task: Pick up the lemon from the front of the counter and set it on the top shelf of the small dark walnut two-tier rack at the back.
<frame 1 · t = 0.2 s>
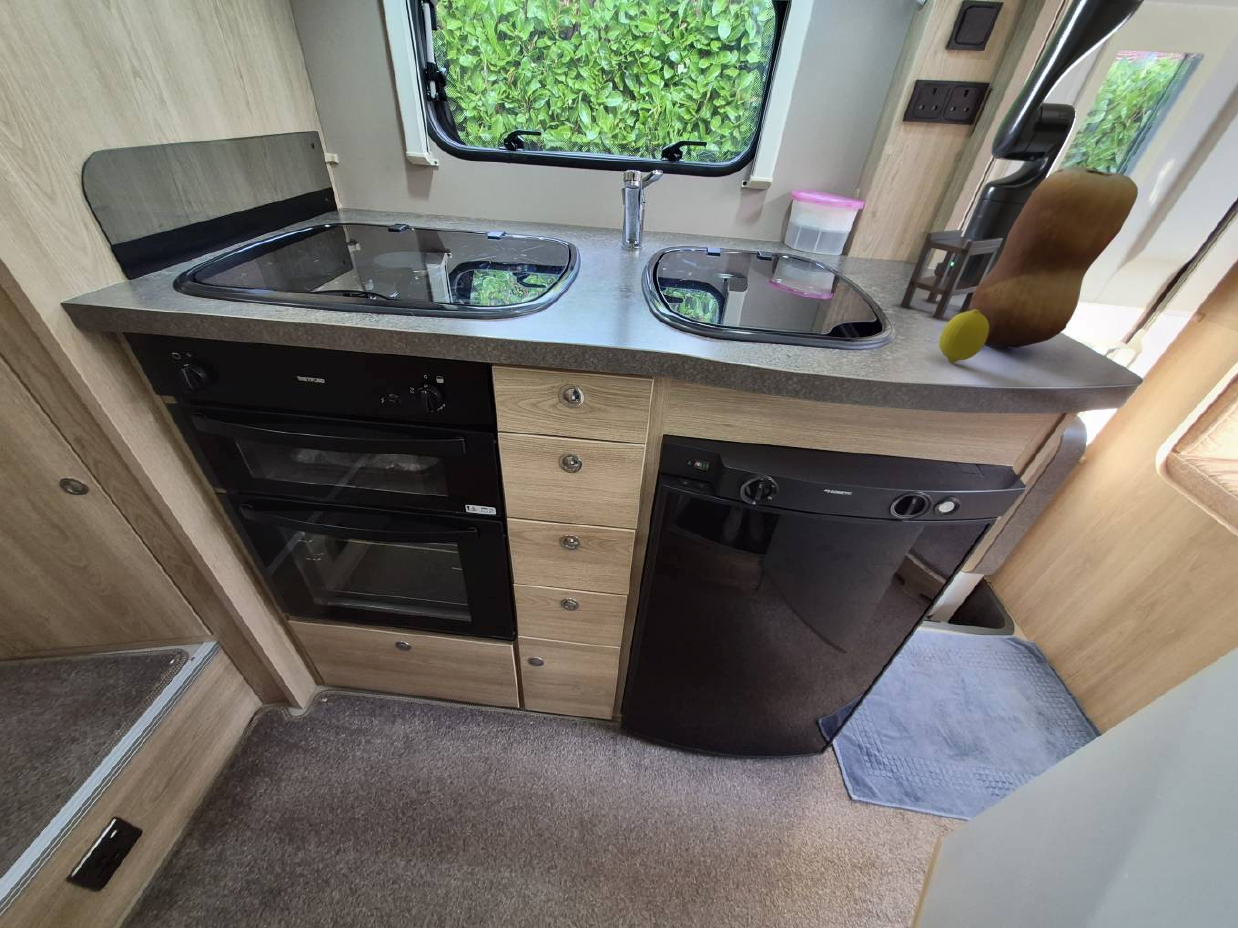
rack: (934, 309, 95), on the worktop
butternut squash: (998, 345, 81), on the worktop
lemon: (950, 364, 73), on the worktop
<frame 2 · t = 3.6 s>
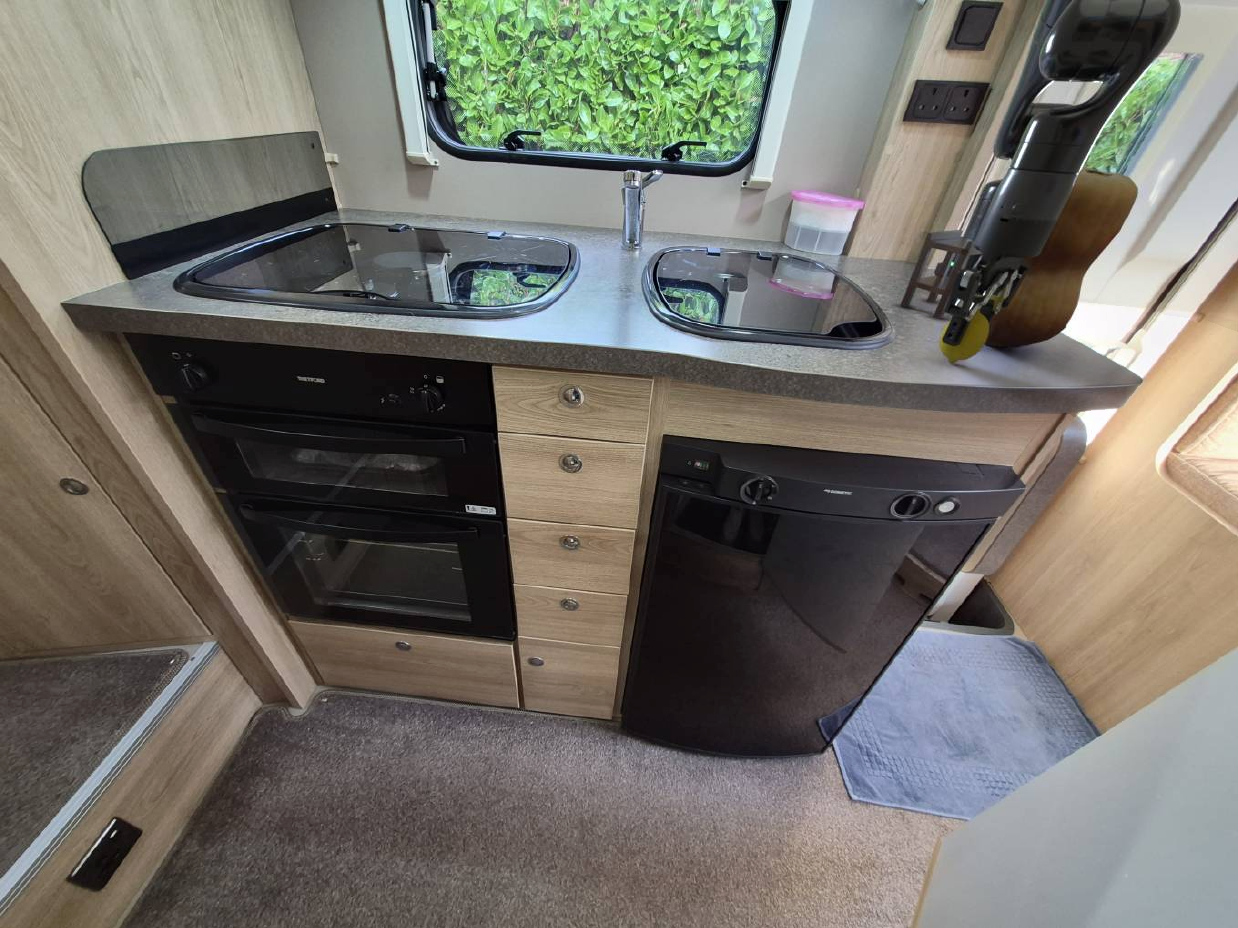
hand: (961, 340, 71), 4 cm above the worktop, tool pointing down, fingers closed on lemon, 5 cm apart
lemon: (950, 364, 73), on the worktop, touching gripper
everything else where it was.
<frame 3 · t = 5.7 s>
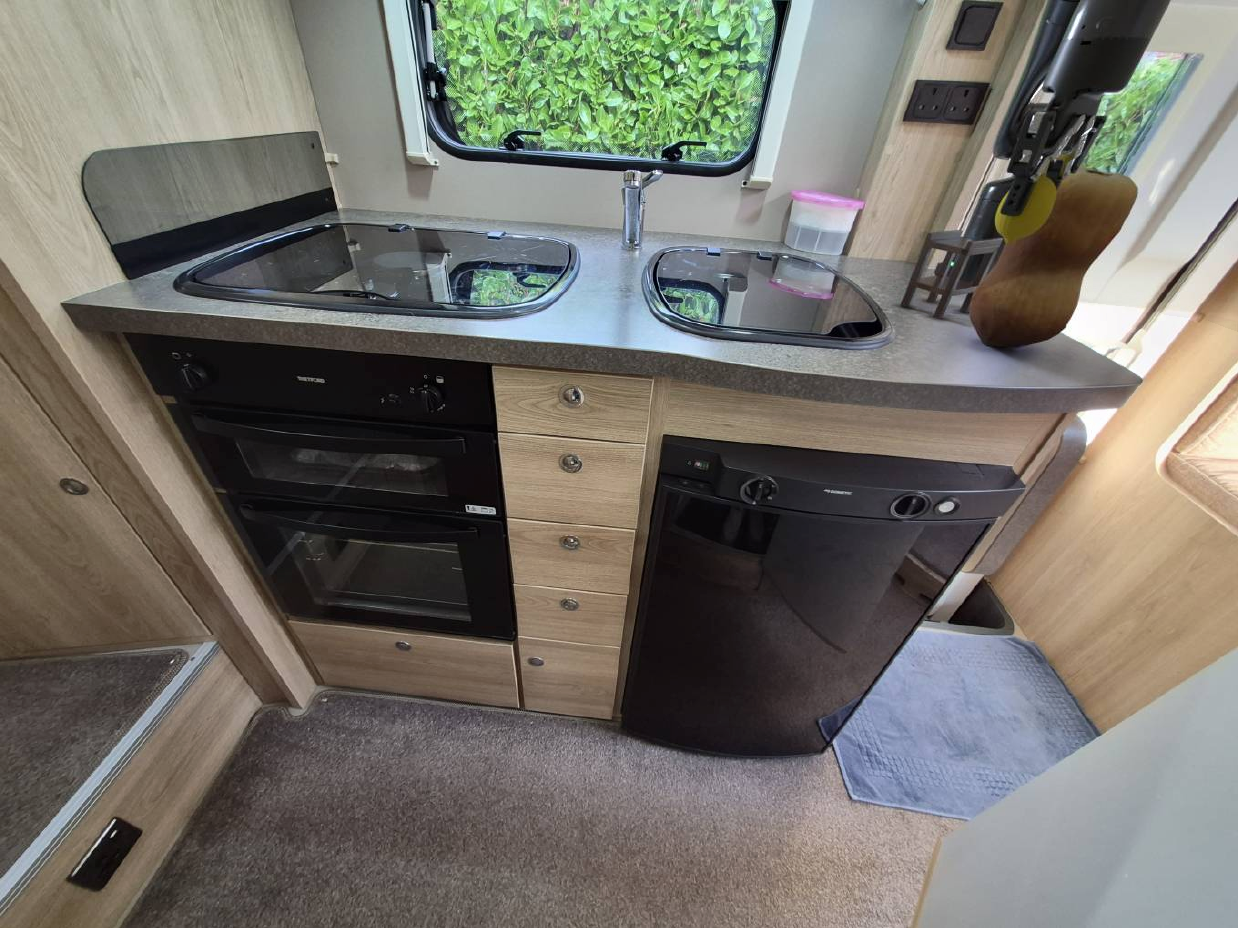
hand: (1022, 213, 62), 20 cm above the worktop, tool pointing down, fingers closed on lemon, 5 cm apart
lemon: (1007, 245, 64), point 16 cm above the worktop, touching gripper
everything else where it was.
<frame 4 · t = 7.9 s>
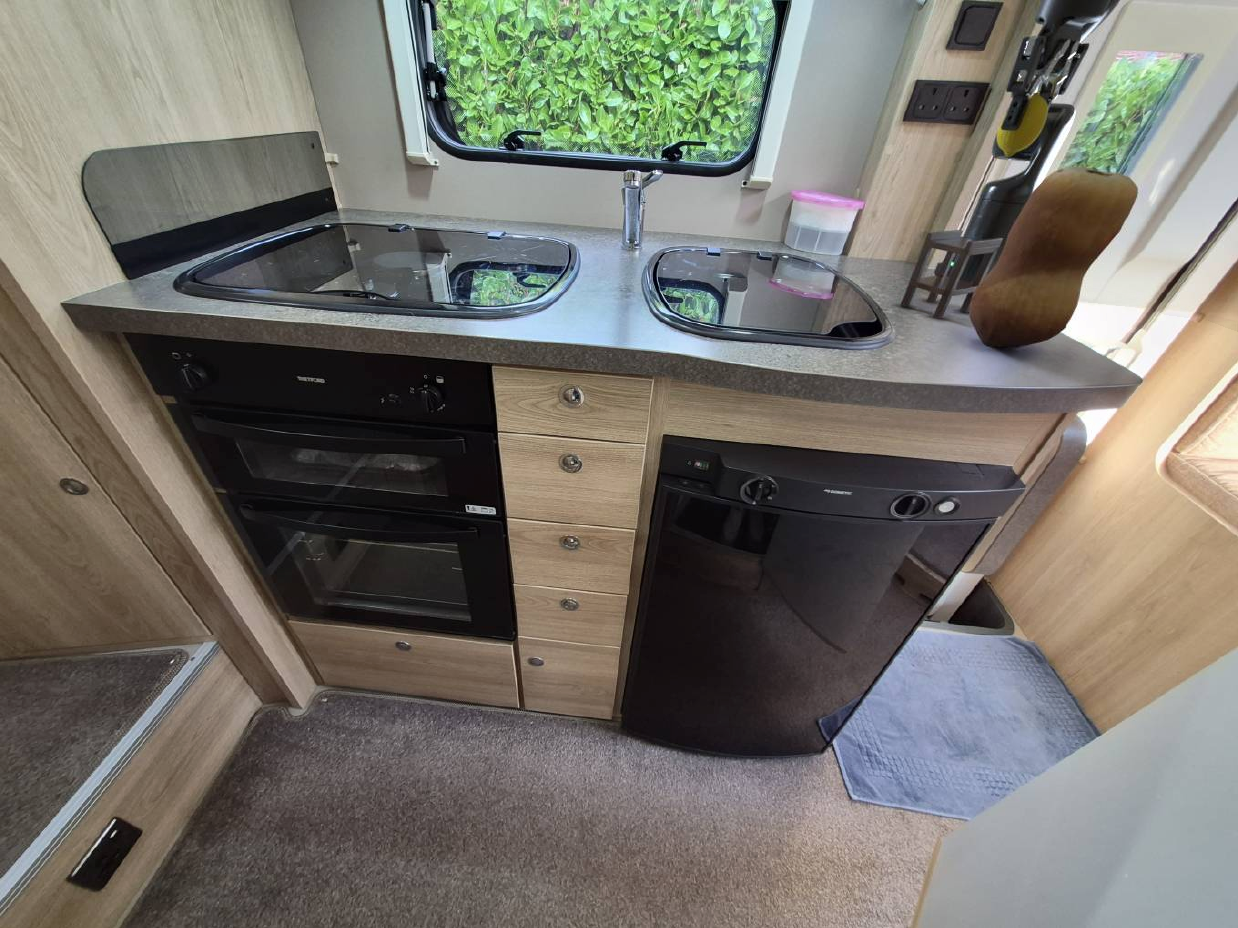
hand: (1019, 129, 74), 29 cm above the worktop, tool pointing down, fingers closed on lemon, 5 cm apart
lemon: (1007, 158, 76), point 25 cm above the worktop, touching gripper
everything else where it was.
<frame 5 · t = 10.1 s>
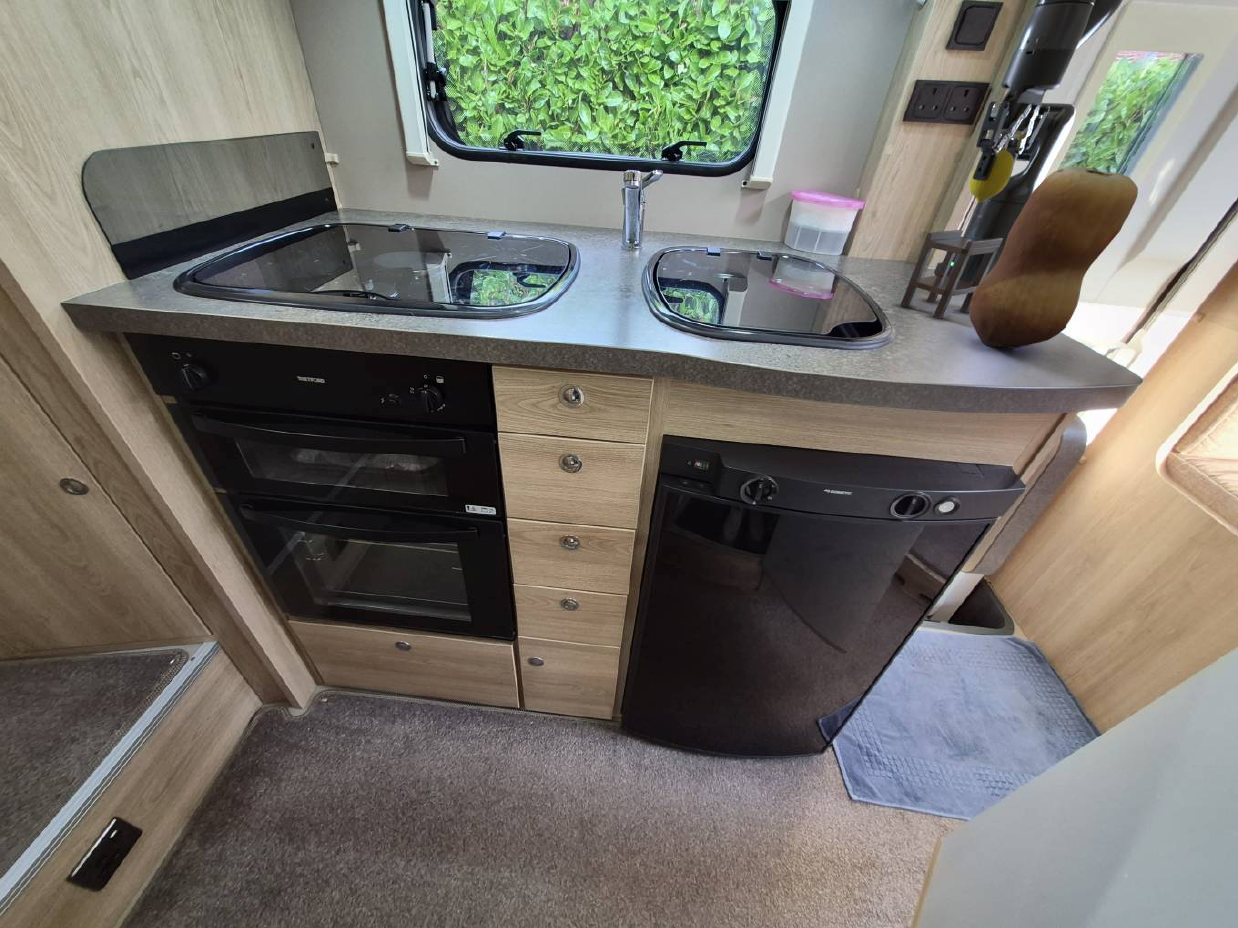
hand: (989, 179, 82), 22 cm above the worktop, tool pointing down, fingers closed on lemon, 5 cm apart
lemon: (979, 203, 84), point 18 cm above the worktop, touching gripper
everything else where it was.
when the fingers open (15 cm above the worktop, at t = 12.2 s): lemon stays where it is, resting on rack.
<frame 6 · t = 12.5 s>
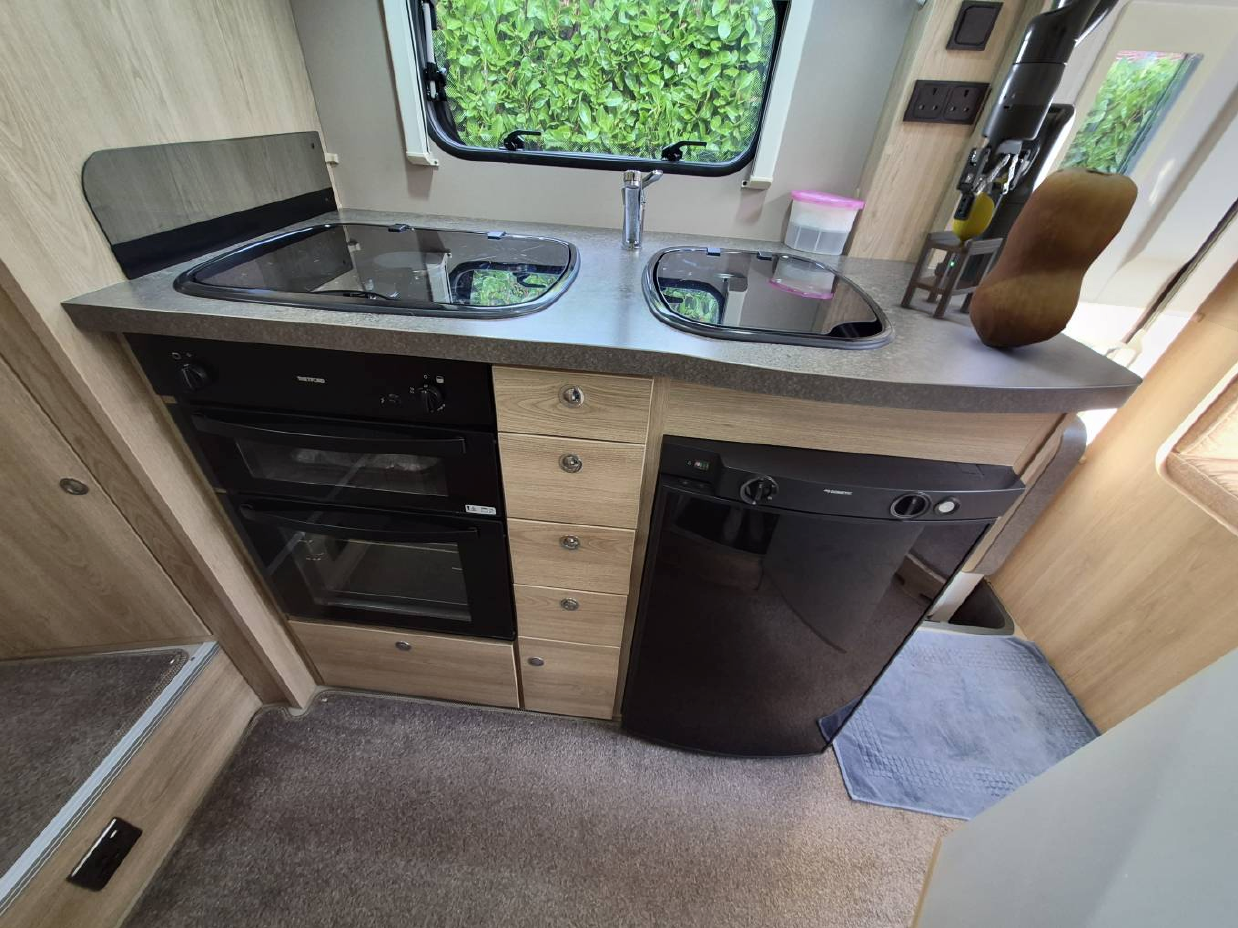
hand: (972, 218, 86), 16 cm above the worktop, tool pointing down, fingers open, 7 cm apart
lemon: (961, 244, 88), point 12 cm above the worktop, touching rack
everything else where it was.
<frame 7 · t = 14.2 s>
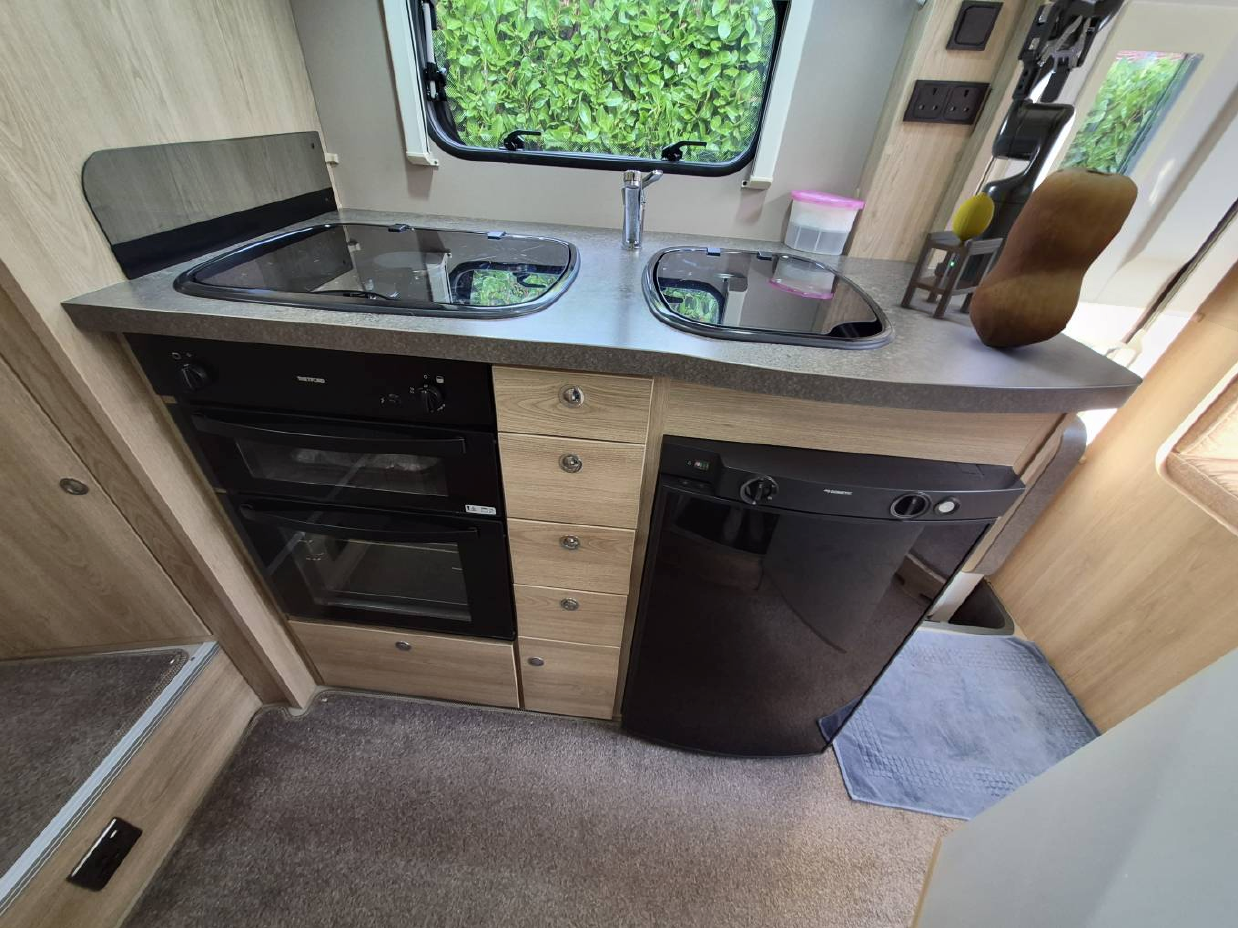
hand: (1033, 101, 75), 33 cm above the worktop, tool pointing down, fingers open, 8 cm apart
nothing on the worktop moved.
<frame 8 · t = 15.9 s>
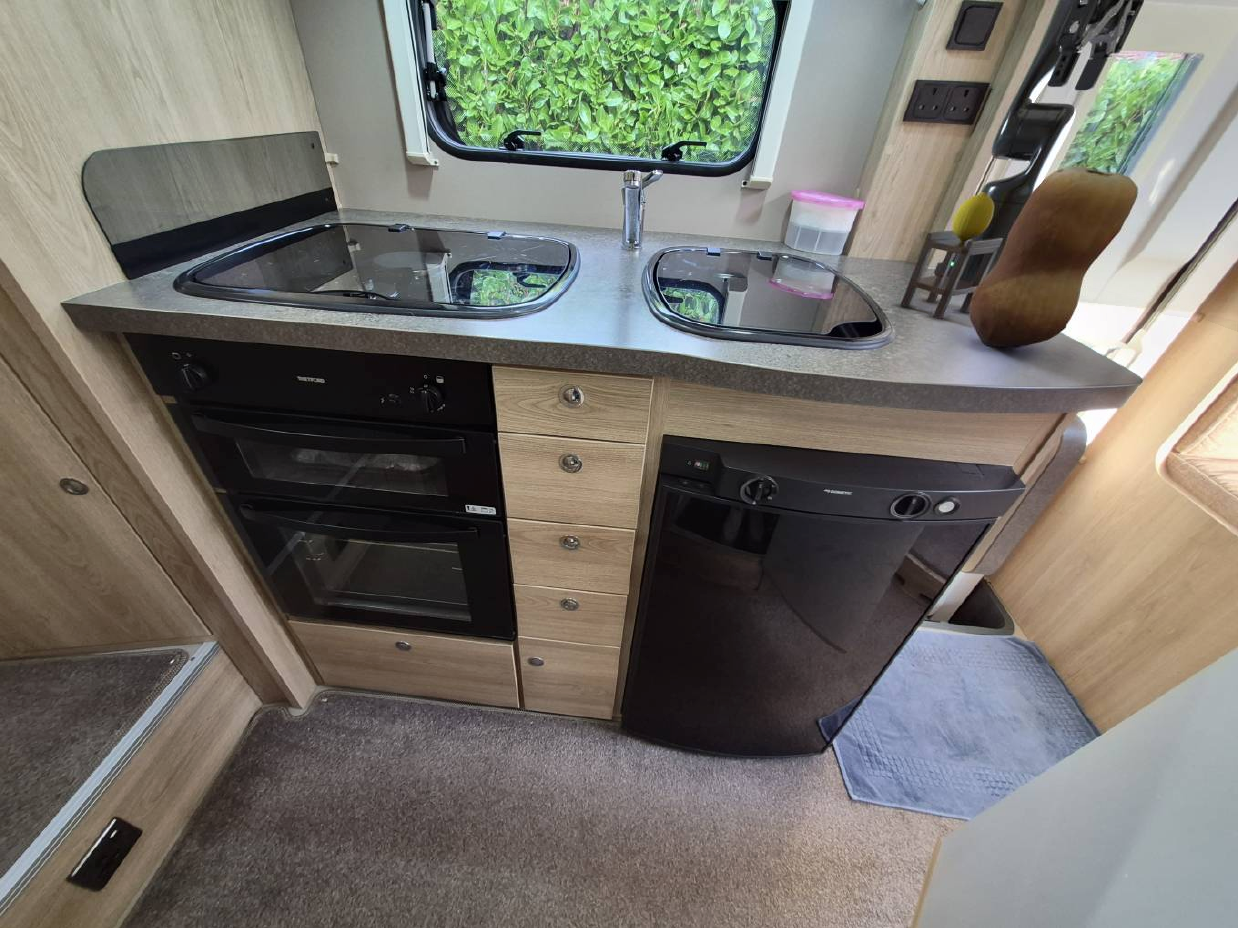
hand: (1069, 88, 72), 34 cm above the worktop, tool pointing down, fingers open, 8 cm apart
nothing on the worktop moved.
at the end: lemon inside the target area on the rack (0.1 cm from its centre), point 11.8 cm above the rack's base; the gripper is holding nothing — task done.
